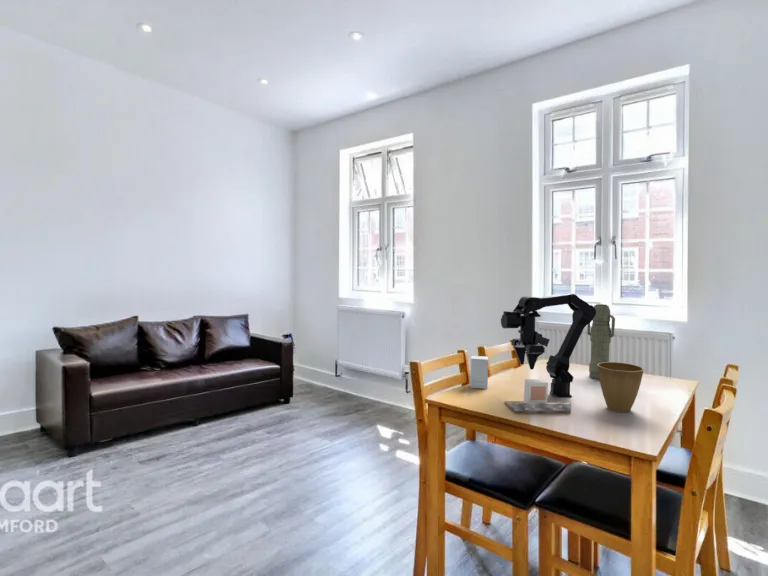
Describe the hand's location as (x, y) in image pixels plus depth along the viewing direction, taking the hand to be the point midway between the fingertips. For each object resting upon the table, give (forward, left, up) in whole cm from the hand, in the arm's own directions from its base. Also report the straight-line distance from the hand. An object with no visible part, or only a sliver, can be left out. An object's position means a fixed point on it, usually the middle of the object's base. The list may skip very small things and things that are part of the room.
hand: (526, 366), depth 179 cm
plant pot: (-28, +17, -12) cm, 35 cm away
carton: (+2, +14, -11) cm, 18 cm away
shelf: (+2, +15, -12) cm, 20 cm away
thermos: (-48, -32, -12) cm, 59 cm away
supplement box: (+15, -16, -12) cm, 25 cm away
